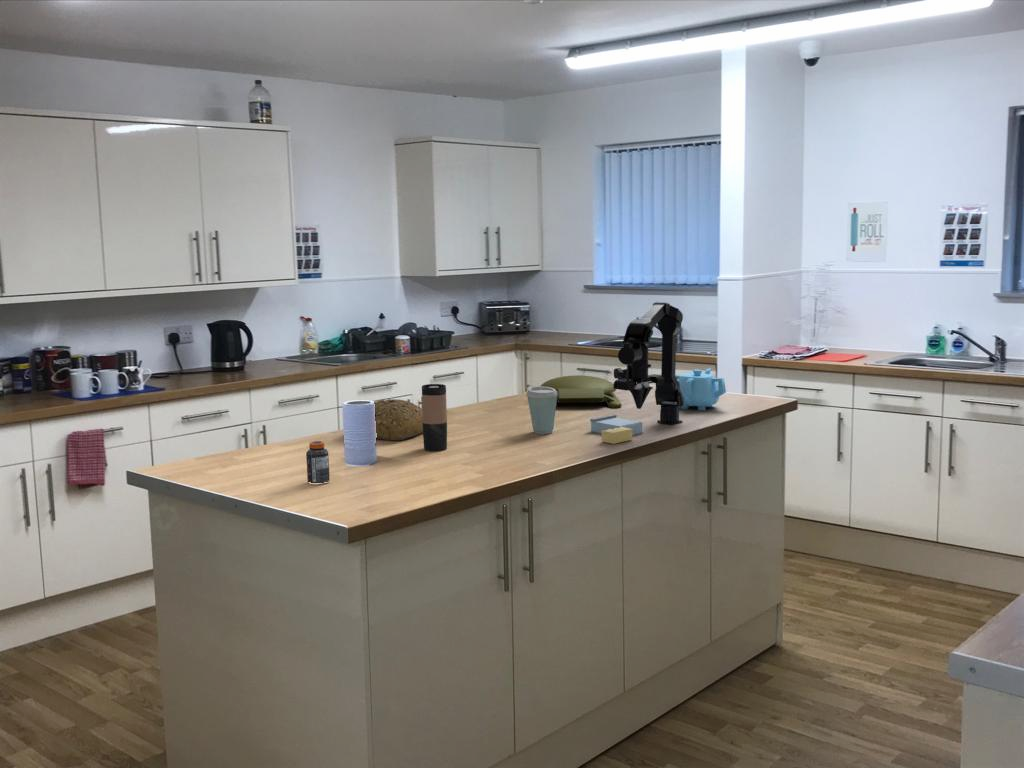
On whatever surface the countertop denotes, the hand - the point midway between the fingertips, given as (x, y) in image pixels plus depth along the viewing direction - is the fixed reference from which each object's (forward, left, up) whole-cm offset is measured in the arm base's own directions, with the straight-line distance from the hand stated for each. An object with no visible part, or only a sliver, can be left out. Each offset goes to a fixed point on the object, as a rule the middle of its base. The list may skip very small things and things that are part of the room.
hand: (638, 408), depth 325 cm
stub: (+10, 0, -9) cm, 14 cm away
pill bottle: (+107, -21, -10) cm, 109 cm away
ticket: (0, -10, -9) cm, 14 cm away
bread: (+56, -61, -10) cm, 83 cm away
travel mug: (+59, -32, -10) cm, 68 cm away
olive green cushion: (-34, -62, -10) cm, 71 cm away
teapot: (-56, -20, -10) cm, 60 cm away
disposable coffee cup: (+18, -27, -10) cm, 34 cm away
